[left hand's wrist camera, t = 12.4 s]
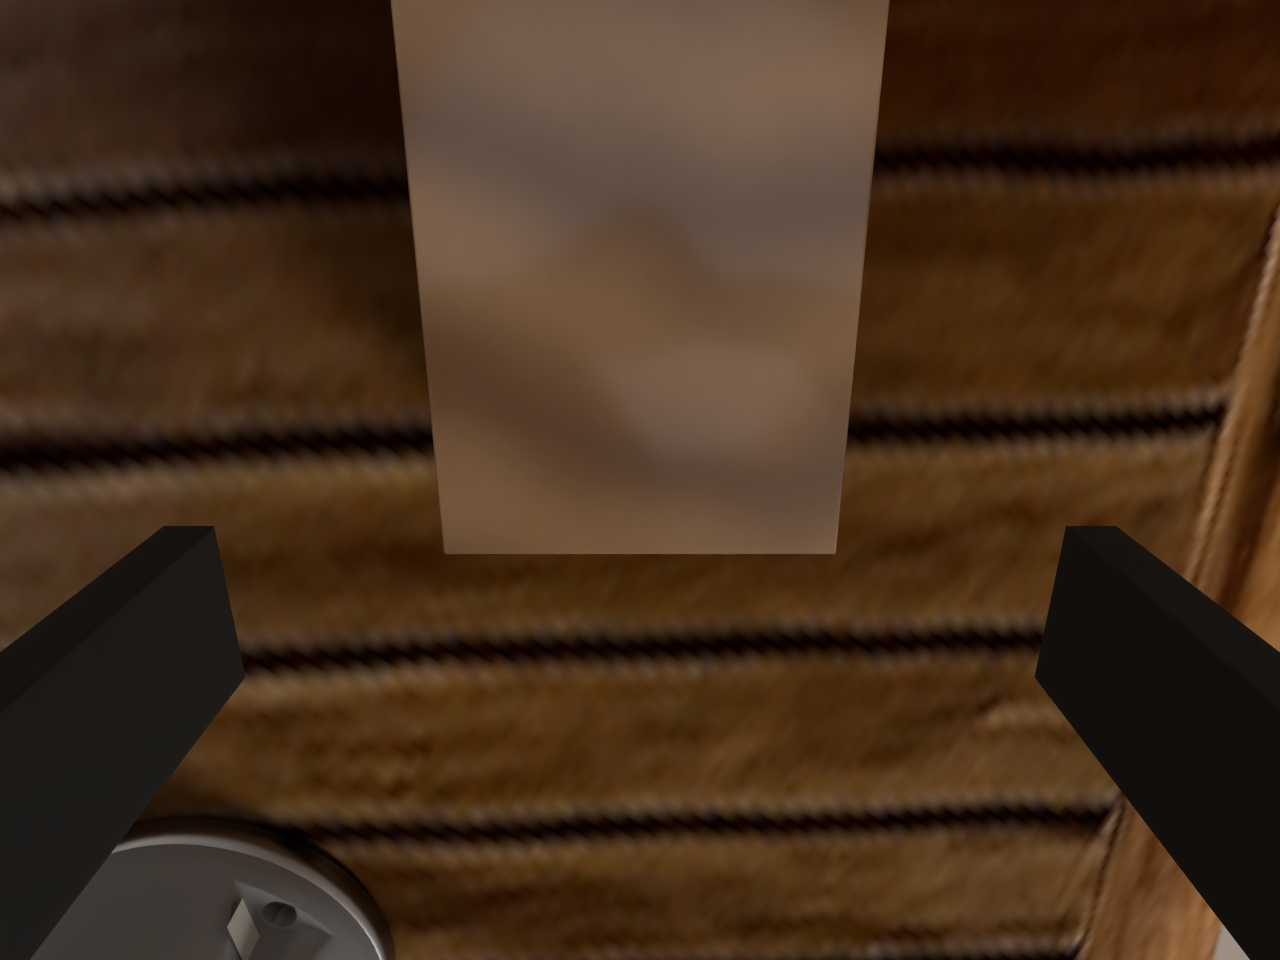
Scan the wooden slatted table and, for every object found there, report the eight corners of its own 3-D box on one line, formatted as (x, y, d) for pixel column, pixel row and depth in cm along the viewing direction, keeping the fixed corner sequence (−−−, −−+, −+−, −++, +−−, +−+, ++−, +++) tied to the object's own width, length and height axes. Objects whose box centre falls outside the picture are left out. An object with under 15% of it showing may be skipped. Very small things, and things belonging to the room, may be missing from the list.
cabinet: (450, -210, 22) (350, -406, 14) (829, -210, 22) (929, -406, 14) (495, 450, 28) (443, 555, 21) (784, 450, 28) (836, 555, 21)
